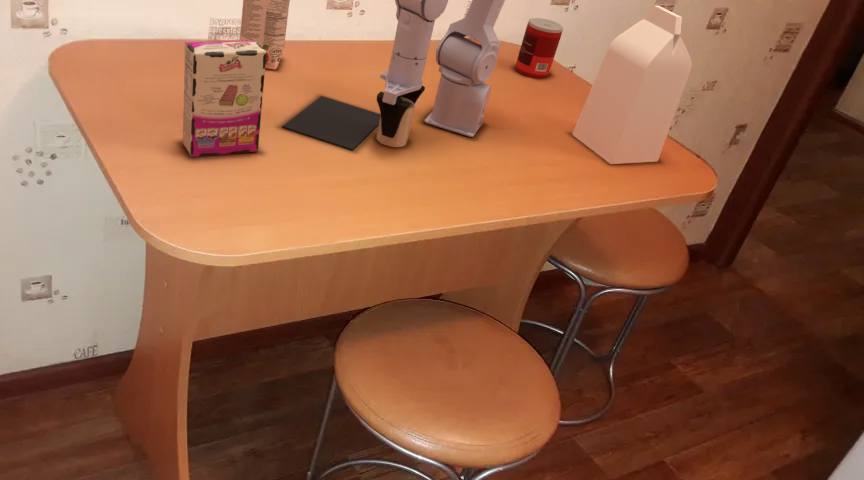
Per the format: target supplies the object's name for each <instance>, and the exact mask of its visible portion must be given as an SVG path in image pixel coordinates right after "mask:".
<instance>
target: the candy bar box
mask: <svg viewBox="0 0 864 480" xmlns="http://www.w3.org/2000/svg"><path fill="white" fill-rule="evenodd" d="M265 64H266V51H265V50H264V49H263V48H262V47H261V46H260V45H259V44H258V43H257V42H256V41H240V40H224V41H185V43H184V71H183V72H184V73H183V75H184V76H183V110H182V111H183V112H182V145H183V147H184V148H185V150H186V151H187V153H188V155H190V157H191V158H198V157H199V158H200V157H210V156H222V155H232V154H233V155H234V154H244V153H245V154H246V153H255V152H258V151H259V142H260V132H261V119H262V107H263V97H264V85H265V73H266V68H265Z"/></svg>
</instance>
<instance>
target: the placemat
mask: <svg viewBox="0 0 864 480" xmlns="http://www.w3.org/2000/svg"><path fill="white" fill-rule="evenodd" d="M380 115H381V113H379V112H378V113H377V112H374V111H371V110H368V109H365V108H362V107H358V106H355V105H352V104H349V103H347V102H346V103H345V102H342V101H339V100H336V99H333V98H330V97H326V96H323V95H321V96H319V97H318V98H317V99H315V100H314V101H313V102H312V103H310V104H309V105H308V106H306V107H305V108H303V110H301V111H300V112H299V113H297V114H296V115H295V116H293V117H292V118H290V120H288V121H287V122H286V123H284V124H283V125H282V126H281V127H282V129H285V130H288V131H290V132H294V133H297V134H300V135H302V136H306V137H309V138H313V139H316V140H319V141H322V142H324V143H328V144H331V145H334V146H336V147H340V148H343V149H346V150H349V151H354V150H355V149H356V148H357V147H358V146H359V145H360V144H361V143H362V142H363V141H364V140H365V139H366V138H367V137H368V136H369V135H370V134H371V133H372V132H373V131H374V130H376V128H378V125H379V120H380Z"/></svg>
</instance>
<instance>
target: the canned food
mask: <svg viewBox="0 0 864 480" xmlns="http://www.w3.org/2000/svg"><path fill="white" fill-rule="evenodd" d="M563 32H564V27H563V25H561V24H560V23H558V22H556V21H554V20H551V19H547V18H542V17H541V18H540V17H533V18H532V17H531V18H530V19H528V21H527V24H526V28H525V31H524V35H523V38H522V41H521V45H520V48H519V52H518V55H517V59H516V62H515V70H516V71H517V72H518V73H520V74H521V75H523V76H526V77H529V78H535V79H544V78H546V77H548V75H549V73H550V71H551V68H552V65H553V62H554V59H555V57H556V54H557V50H558V47H559V44H560V42H561V37H562V35H563Z"/></svg>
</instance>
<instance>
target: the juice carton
mask: <svg viewBox="0 0 864 480" xmlns="http://www.w3.org/2000/svg"><path fill="white" fill-rule="evenodd" d="M290 1H291V0H242V10H241V21H240V34H239V41H256V42H257V43H258V44H259V45H260V46H261V47H262V48H263V49H264V50H265V51H266V64H265V69H269V70H277V69H278V66H279V65H280V62H281V59H282V57H283V53H284V51H285V50H284V49H285V45H286V44H285V43H286V35H287V28H288V27H287V26H288V19H289V10H290Z"/></svg>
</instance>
